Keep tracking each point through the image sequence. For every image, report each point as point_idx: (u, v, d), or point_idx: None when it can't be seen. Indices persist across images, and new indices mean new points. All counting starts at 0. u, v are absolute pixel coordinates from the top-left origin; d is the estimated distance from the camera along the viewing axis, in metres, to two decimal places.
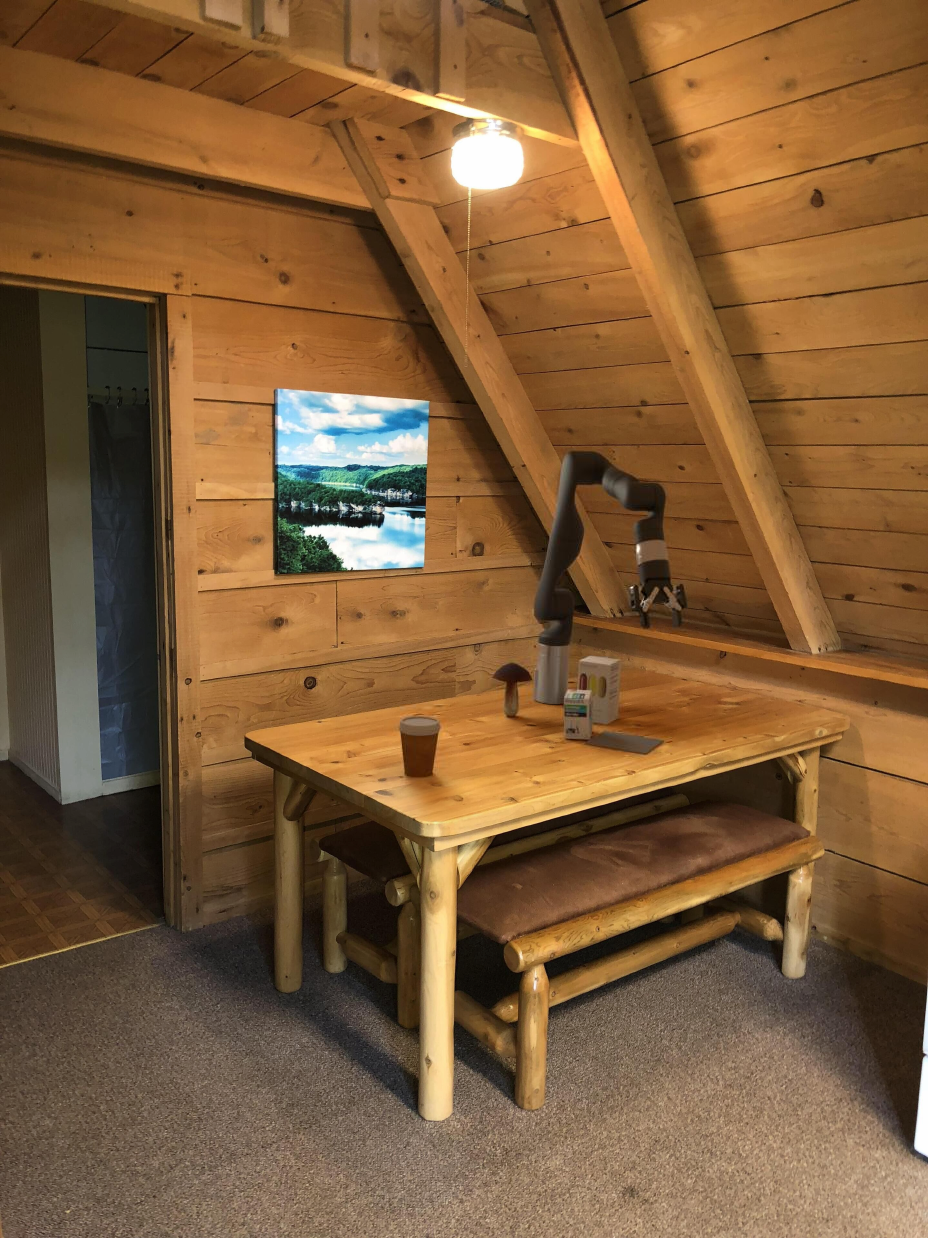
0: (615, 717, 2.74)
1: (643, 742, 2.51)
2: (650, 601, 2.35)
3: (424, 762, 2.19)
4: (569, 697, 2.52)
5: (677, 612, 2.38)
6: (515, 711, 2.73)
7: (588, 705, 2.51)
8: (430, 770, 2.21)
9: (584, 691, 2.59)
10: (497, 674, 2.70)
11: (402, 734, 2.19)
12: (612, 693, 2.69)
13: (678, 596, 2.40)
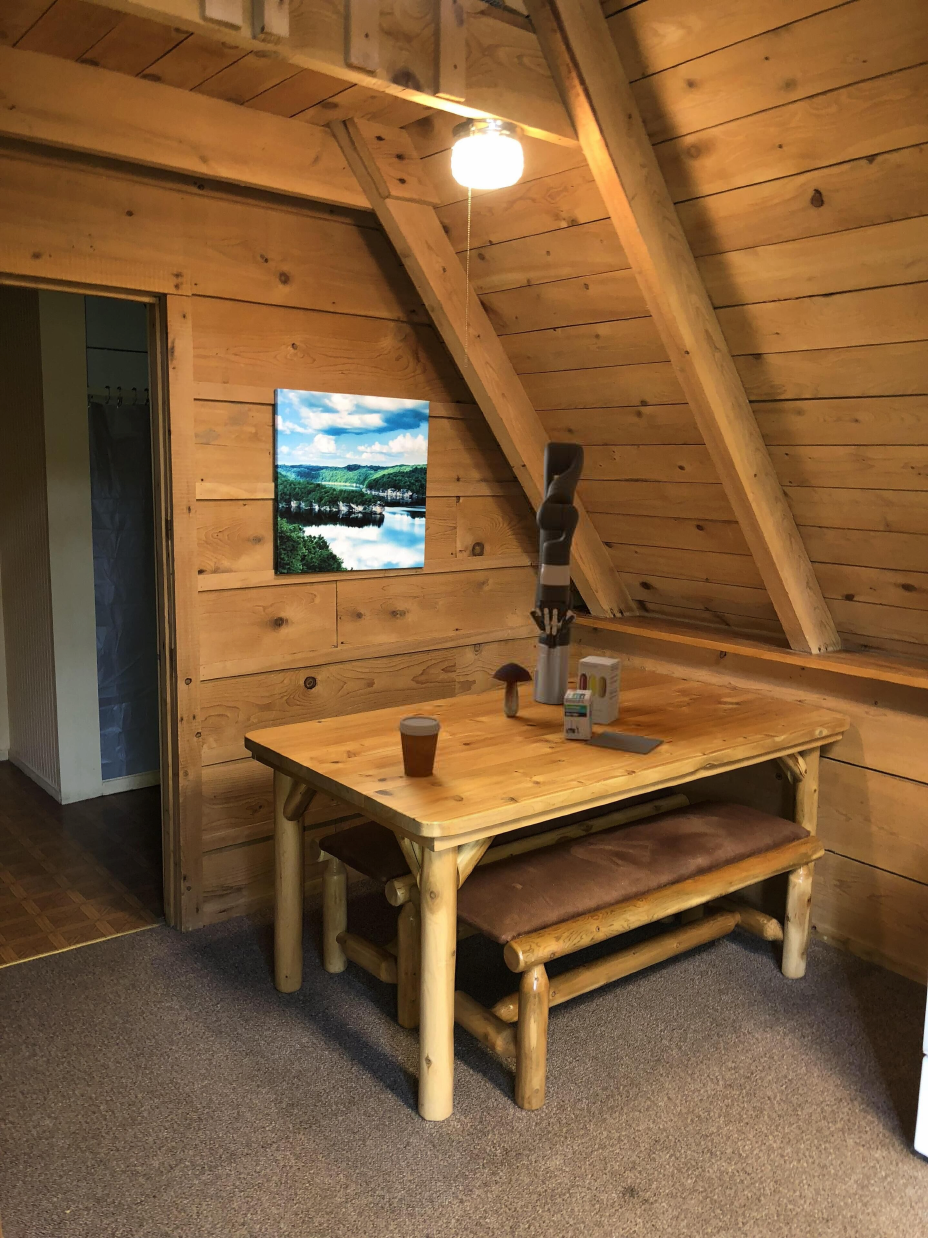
0: (615, 717, 2.74)
1: (643, 742, 2.51)
2: (547, 623, 2.56)
3: (424, 762, 2.19)
4: (569, 697, 2.52)
5: (552, 636, 2.57)
6: (515, 711, 2.73)
7: (588, 705, 2.51)
8: (430, 770, 2.21)
9: (584, 691, 2.59)
10: (497, 674, 2.70)
11: (402, 734, 2.19)
12: (612, 693, 2.69)
13: None
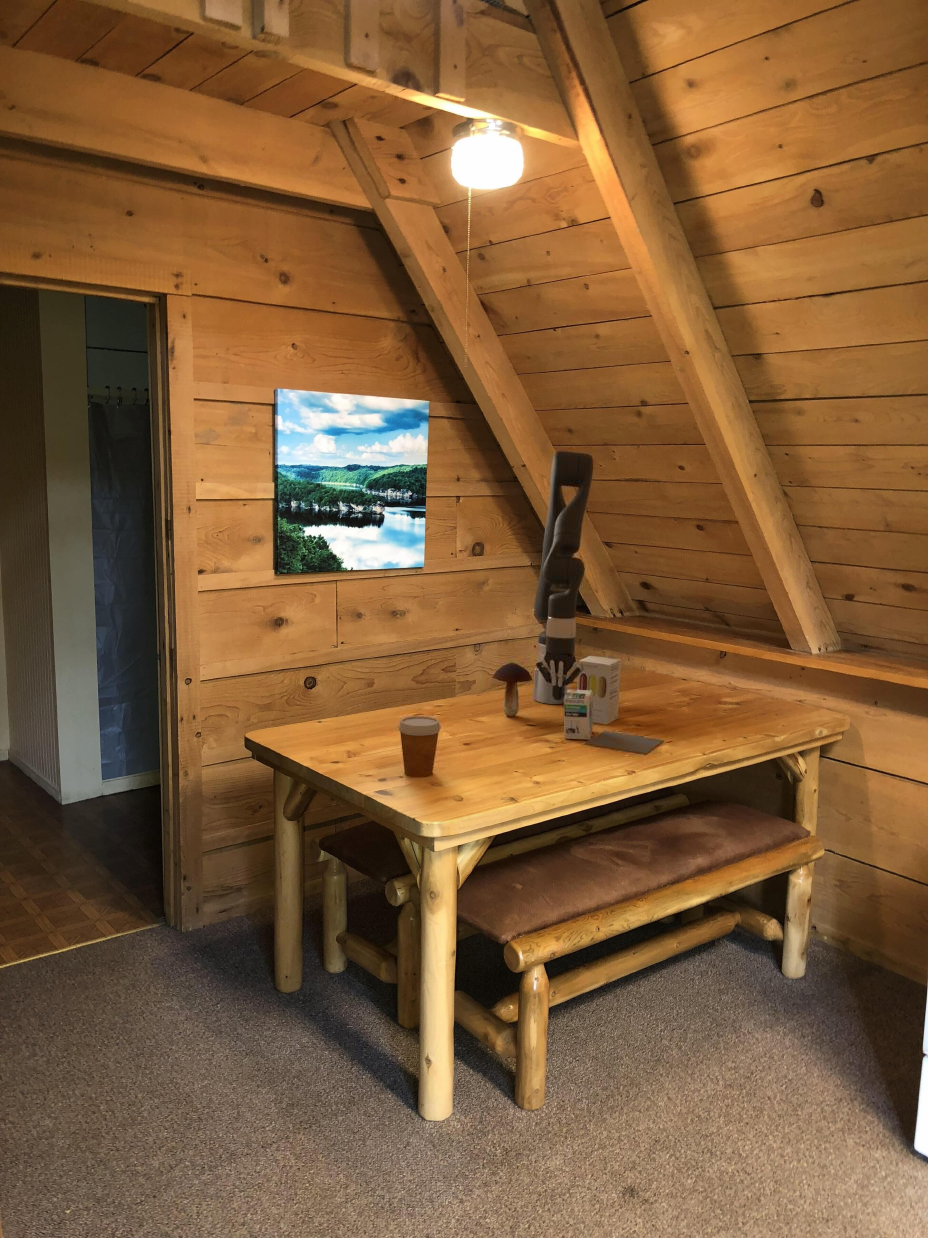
0: (615, 717, 2.74)
1: (643, 742, 2.51)
2: (553, 675, 2.57)
3: (424, 762, 2.19)
4: (569, 697, 2.52)
5: (557, 687, 2.58)
6: (515, 711, 2.73)
7: (588, 705, 2.51)
8: (430, 770, 2.21)
9: (584, 691, 2.59)
10: (497, 674, 2.70)
11: (402, 734, 2.19)
12: (612, 693, 2.69)
13: None
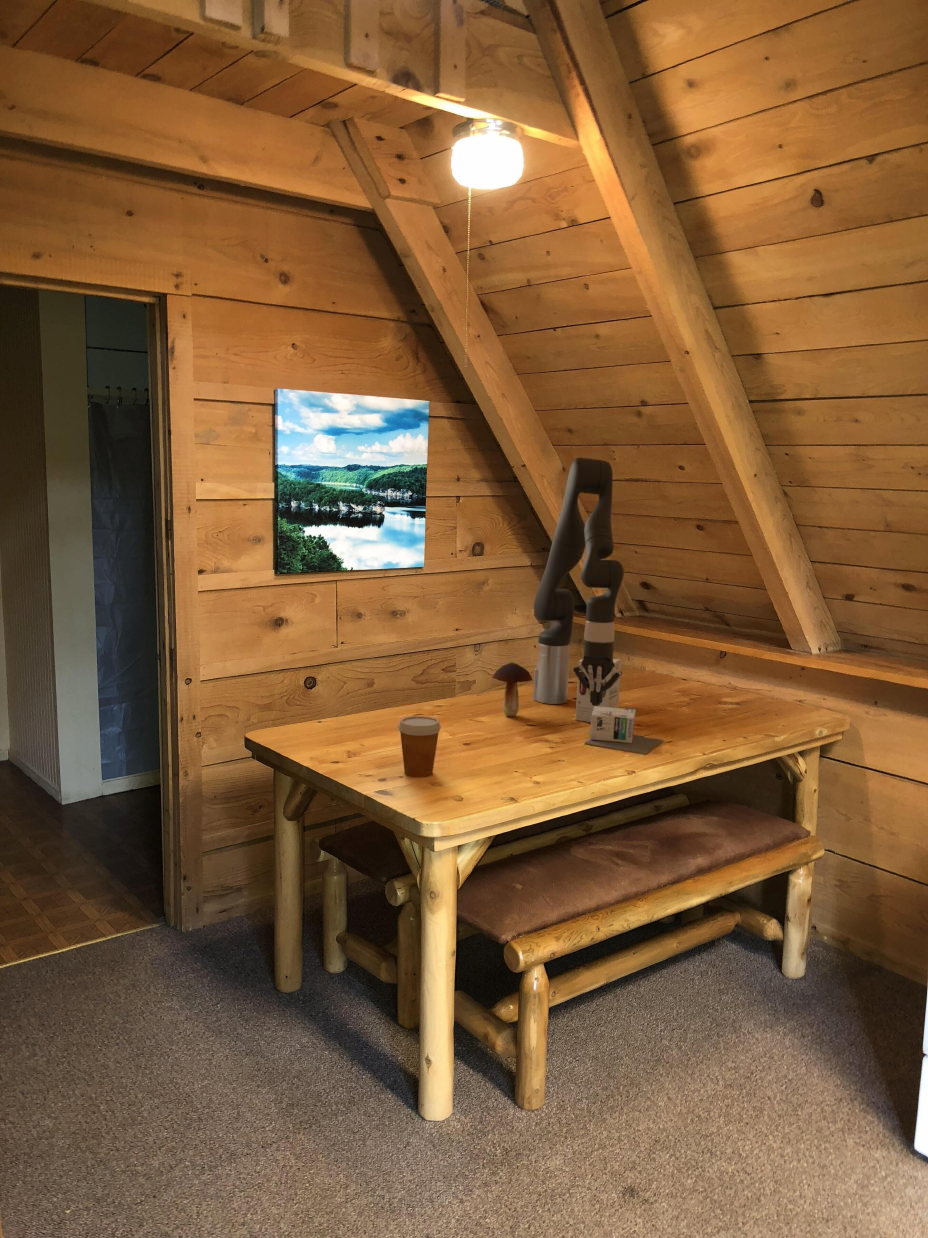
0: None
1: (643, 742, 2.51)
2: (591, 680, 2.52)
3: (424, 762, 2.19)
4: (633, 722, 2.50)
5: (595, 693, 2.53)
6: (515, 711, 2.73)
7: (625, 741, 2.50)
8: (430, 770, 2.21)
9: None
10: (497, 674, 2.70)
11: (402, 734, 2.19)
12: (612, 693, 2.69)
13: None
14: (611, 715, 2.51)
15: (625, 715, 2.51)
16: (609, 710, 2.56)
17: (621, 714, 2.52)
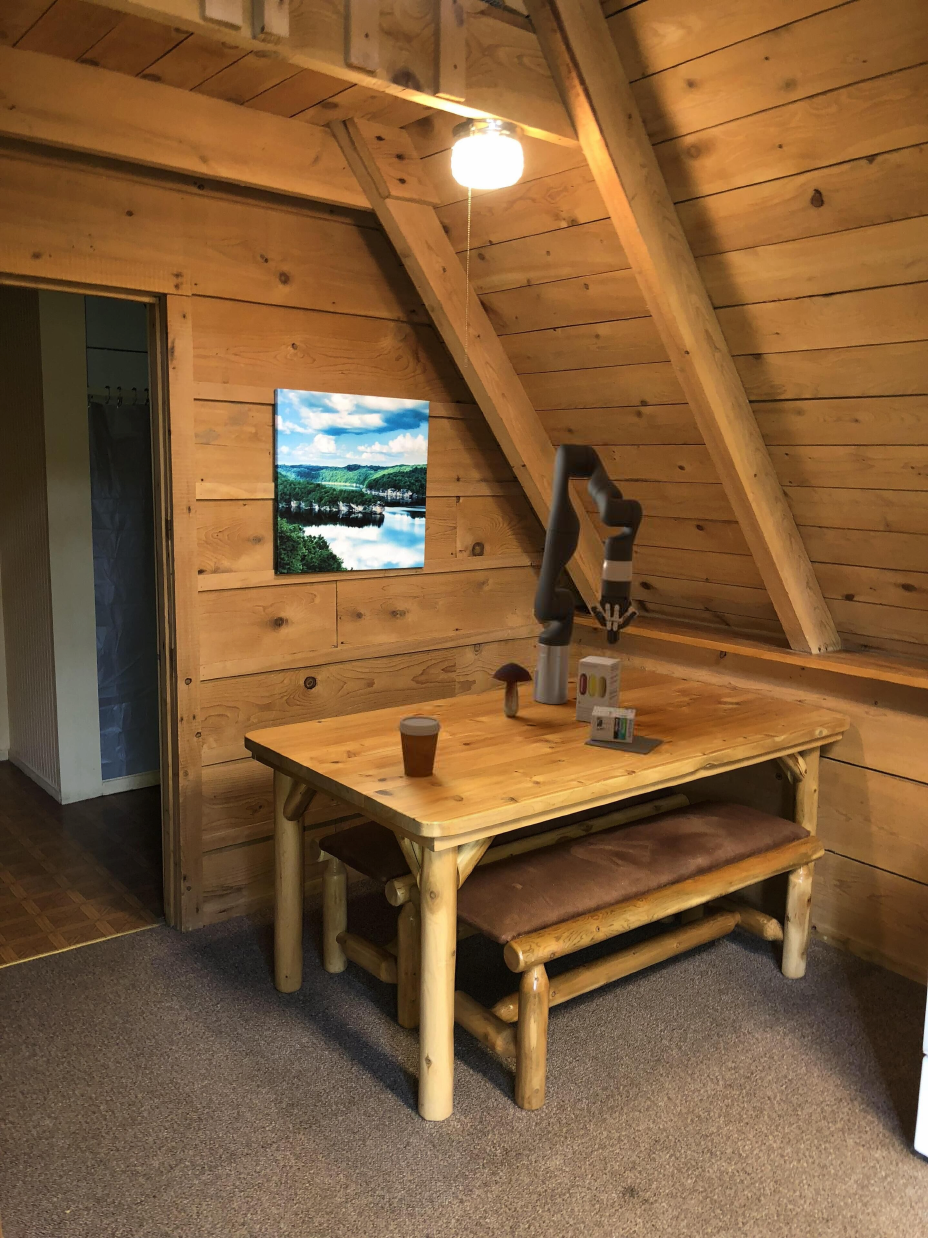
0: None
1: (643, 742, 2.51)
2: (608, 619, 2.55)
3: (424, 762, 2.19)
4: (633, 722, 2.50)
5: (612, 631, 2.55)
6: (515, 711, 2.73)
7: (625, 741, 2.50)
8: (430, 770, 2.21)
9: None
10: (497, 674, 2.70)
11: (402, 734, 2.19)
12: (612, 693, 2.69)
13: None
14: (611, 715, 2.51)
15: (625, 715, 2.51)
16: (609, 710, 2.56)
17: (621, 714, 2.52)
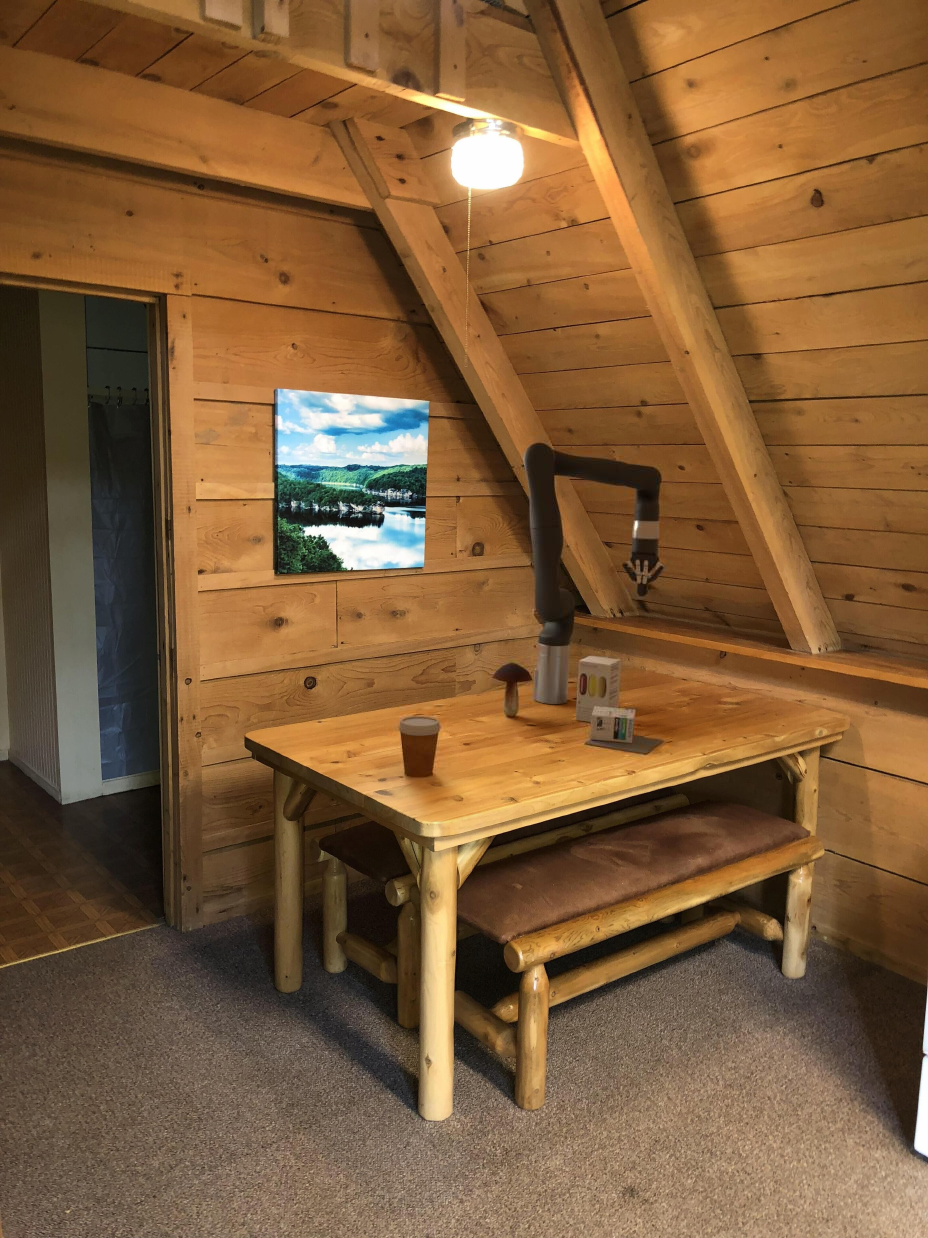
0: None
1: (643, 742, 2.51)
2: (638, 573, 2.86)
3: (424, 762, 2.19)
4: (633, 722, 2.50)
5: (642, 585, 2.86)
6: (515, 711, 2.73)
7: (625, 741, 2.50)
8: (430, 770, 2.21)
9: None
10: (497, 674, 2.70)
11: (402, 734, 2.19)
12: (612, 693, 2.69)
13: None
14: (611, 715, 2.51)
15: (625, 715, 2.51)
16: (609, 710, 2.56)
17: (621, 714, 2.52)
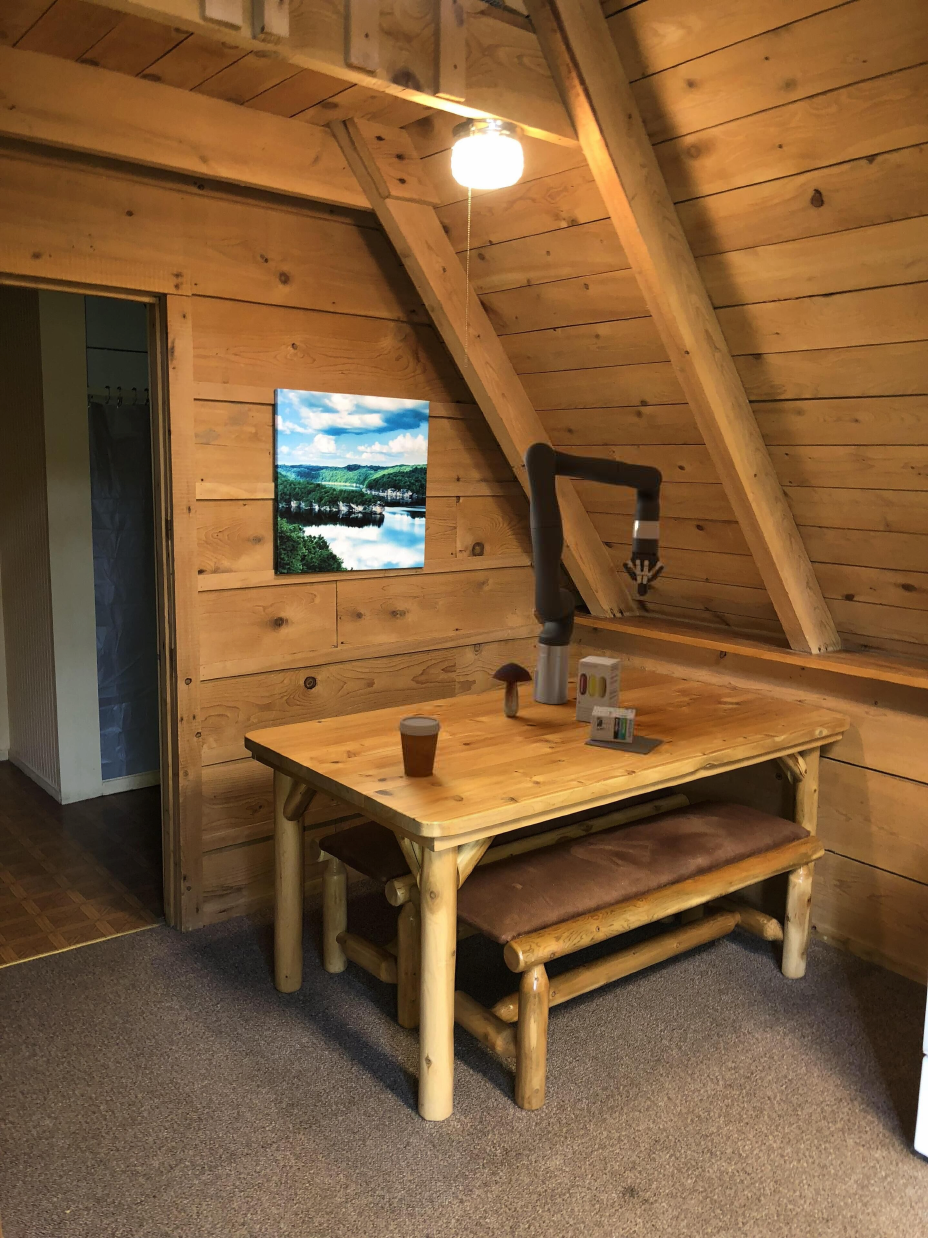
0: None
1: (643, 742, 2.51)
2: (639, 573, 2.86)
3: (424, 762, 2.19)
4: (633, 722, 2.50)
5: (642, 584, 2.87)
6: (515, 711, 2.73)
7: (625, 741, 2.50)
8: (430, 770, 2.21)
9: None
10: (497, 674, 2.70)
11: (402, 734, 2.19)
12: (612, 693, 2.69)
13: None
14: (611, 715, 2.51)
15: (625, 715, 2.51)
16: (609, 710, 2.56)
17: (621, 714, 2.52)
